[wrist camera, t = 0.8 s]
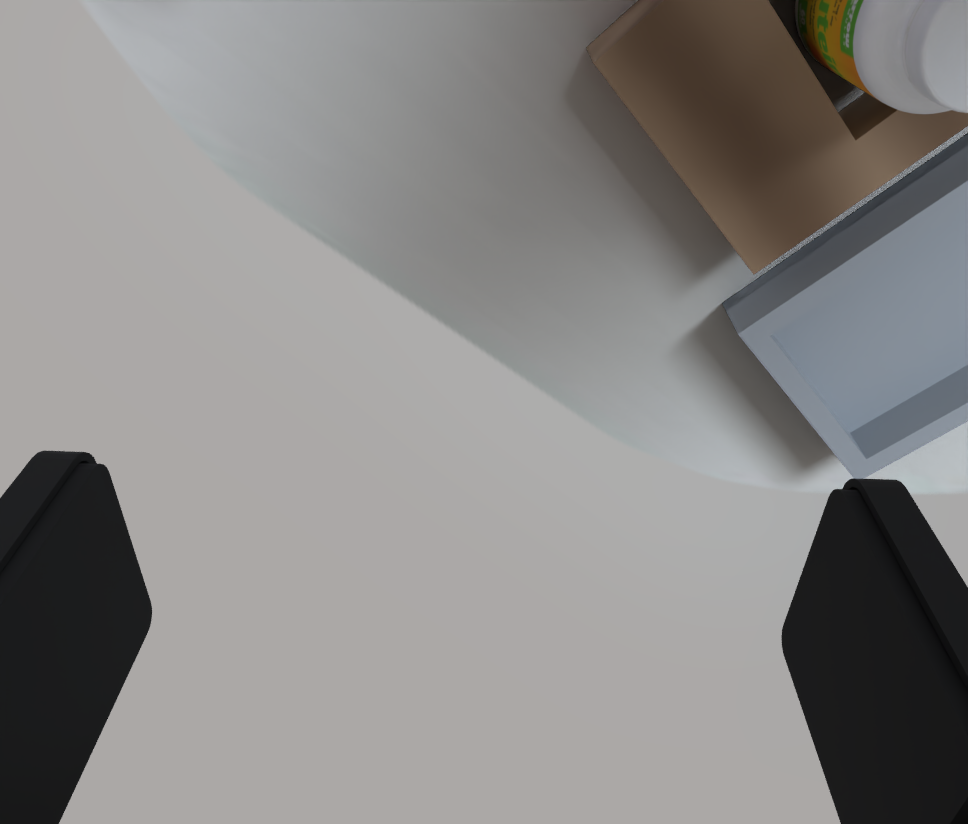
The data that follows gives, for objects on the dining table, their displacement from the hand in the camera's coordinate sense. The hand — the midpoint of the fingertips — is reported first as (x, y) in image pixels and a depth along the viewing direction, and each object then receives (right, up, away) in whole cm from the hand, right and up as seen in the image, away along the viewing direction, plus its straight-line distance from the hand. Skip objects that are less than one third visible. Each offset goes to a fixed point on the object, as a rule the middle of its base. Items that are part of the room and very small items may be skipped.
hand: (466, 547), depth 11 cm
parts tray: (+21, +8, +26) cm, 34 cm away
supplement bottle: (+15, +18, +20) cm, 30 cm away
